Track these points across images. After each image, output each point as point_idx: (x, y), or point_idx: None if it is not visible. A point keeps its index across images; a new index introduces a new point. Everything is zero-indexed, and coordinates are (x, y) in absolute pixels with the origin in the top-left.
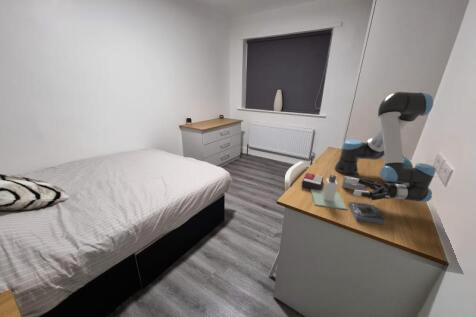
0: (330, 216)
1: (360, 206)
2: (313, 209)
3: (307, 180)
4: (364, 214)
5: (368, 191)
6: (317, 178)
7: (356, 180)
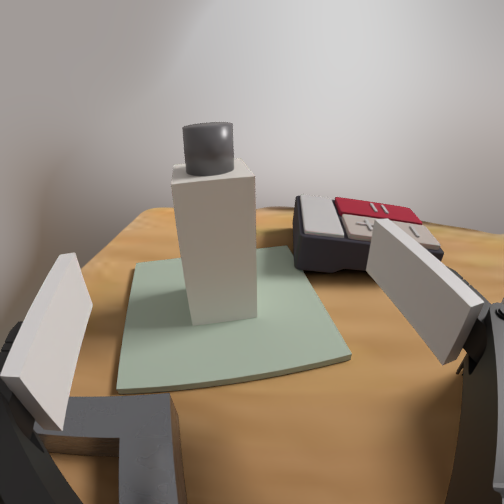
0: None
1: (119, 465)
2: (104, 266)
3: (309, 201)
4: None
5: (16, 374)
6: None
7: (440, 305)
